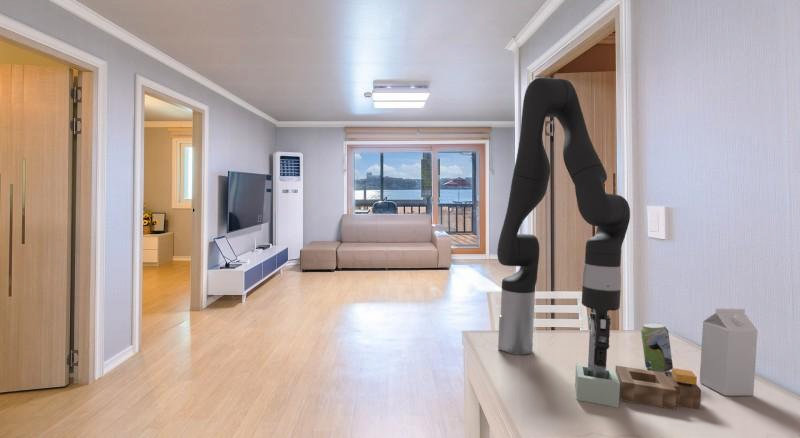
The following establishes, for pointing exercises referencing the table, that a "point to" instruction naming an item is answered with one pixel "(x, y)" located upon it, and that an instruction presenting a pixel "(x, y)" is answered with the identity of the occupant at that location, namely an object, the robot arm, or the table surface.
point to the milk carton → (728, 352)
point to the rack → (597, 387)
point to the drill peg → (593, 369)
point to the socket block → (655, 389)
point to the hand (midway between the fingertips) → (597, 358)
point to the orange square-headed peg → (684, 377)
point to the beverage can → (656, 347)
